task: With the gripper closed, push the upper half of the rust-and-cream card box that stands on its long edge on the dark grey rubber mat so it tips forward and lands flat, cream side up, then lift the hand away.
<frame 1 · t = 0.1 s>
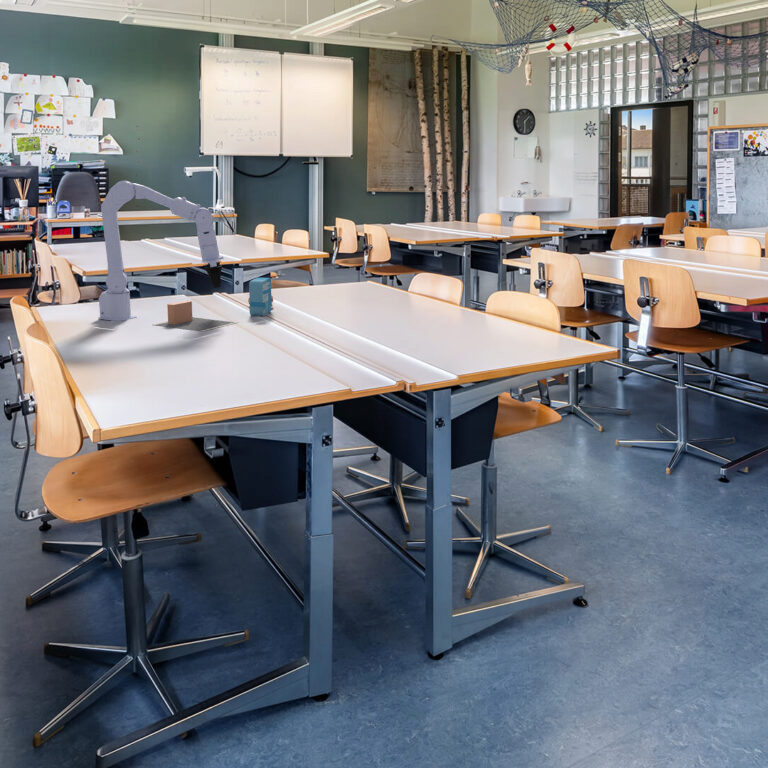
hand: (216, 286, 273), 11 cm above the table, tool pointing down, fingers open, 7 cm apart
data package: (260, 314, 284), on the table
mat: (195, 325, 261), on the table
card box: (180, 321, 263), resting on mat
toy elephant: (262, 307, 299), on the table
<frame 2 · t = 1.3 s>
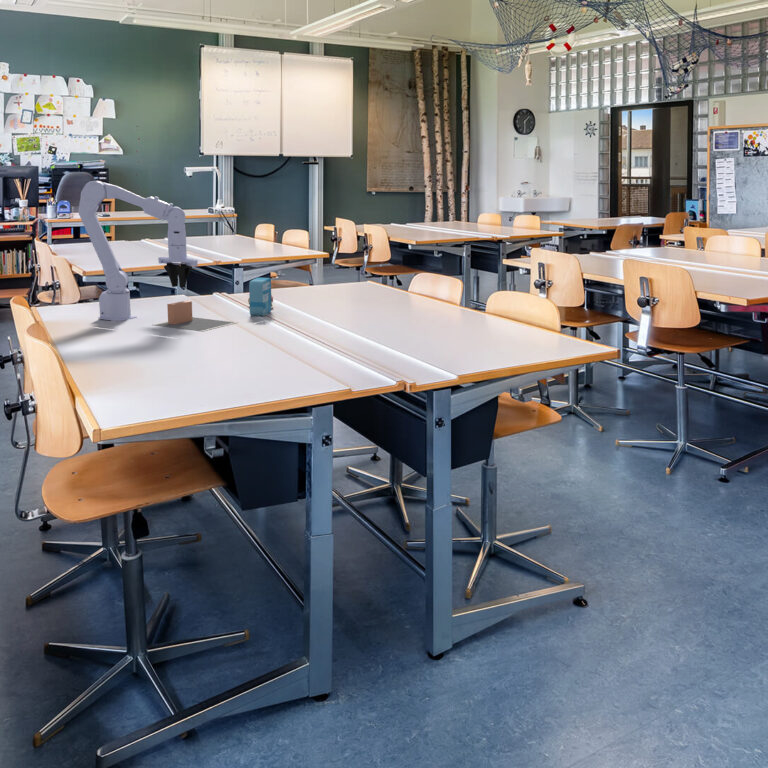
hand: (178, 286, 269), 10 cm above the table, tool pointing down, fingers open, 3 cm apart
nothing on the table moved.
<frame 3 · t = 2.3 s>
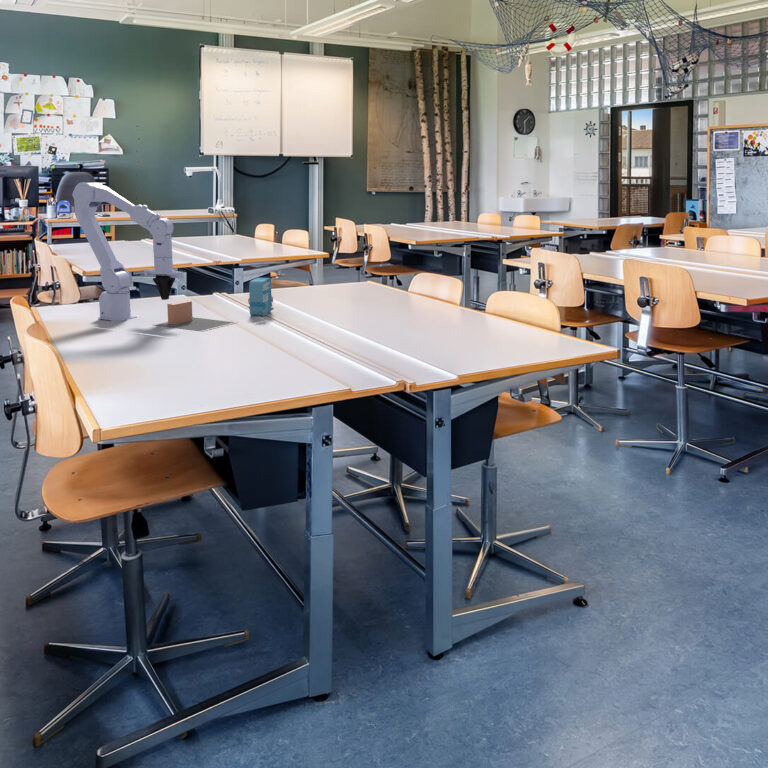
hand: (165, 299, 264), 7 cm above the table, tool pointing down, fingers closed
nothing on the table moved.
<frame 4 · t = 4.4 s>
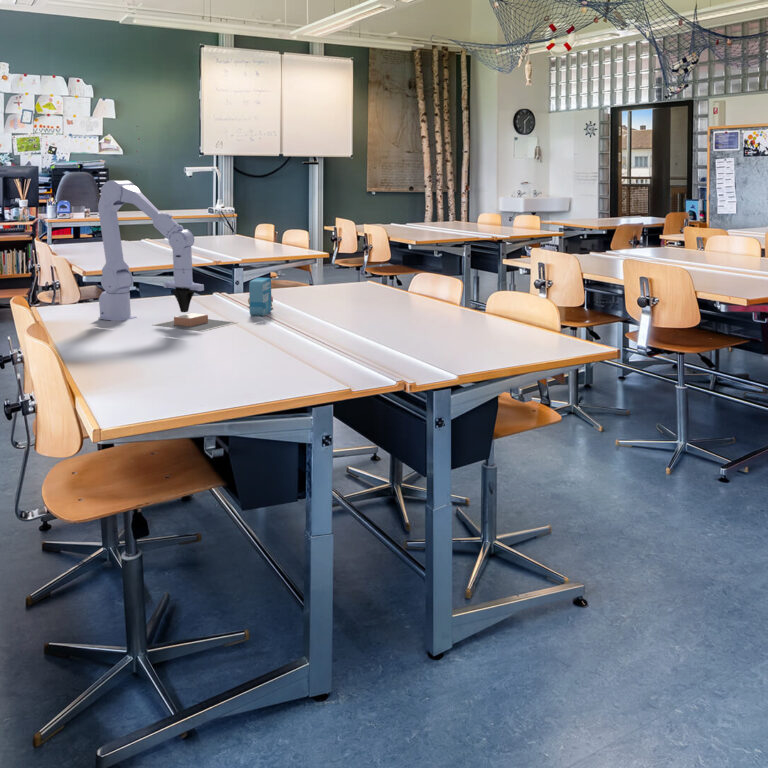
hand: (184, 311, 262), 4 cm above the table, tool pointing down, fingers closed
card box: (183, 318, 262), point 2 cm above the table, tilted 90°, touching mat
everything else where it was.
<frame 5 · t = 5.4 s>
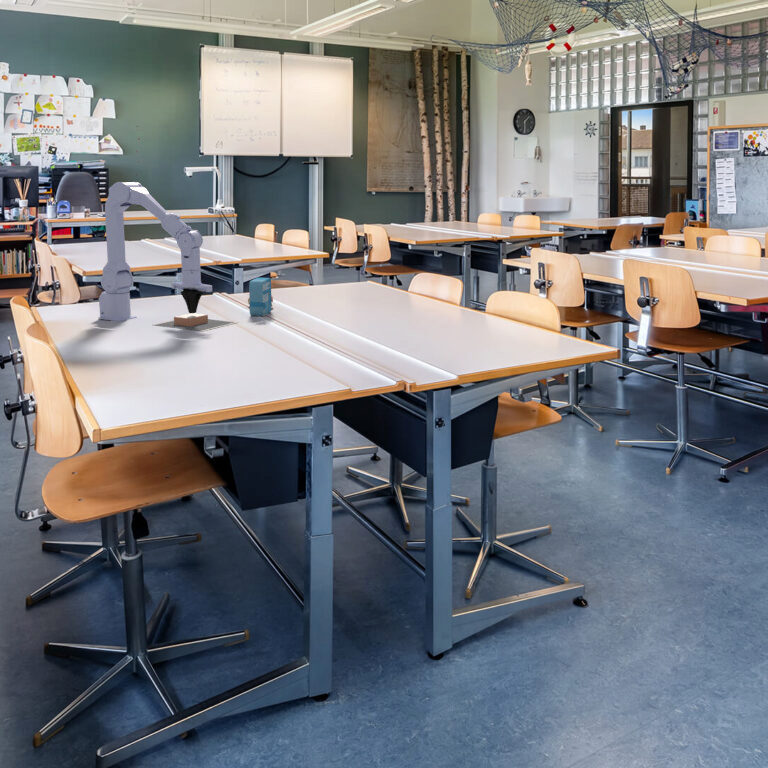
hand: (192, 312, 260), 4 cm above the table, tool pointing down, fingers closed
nothing on the table moved.
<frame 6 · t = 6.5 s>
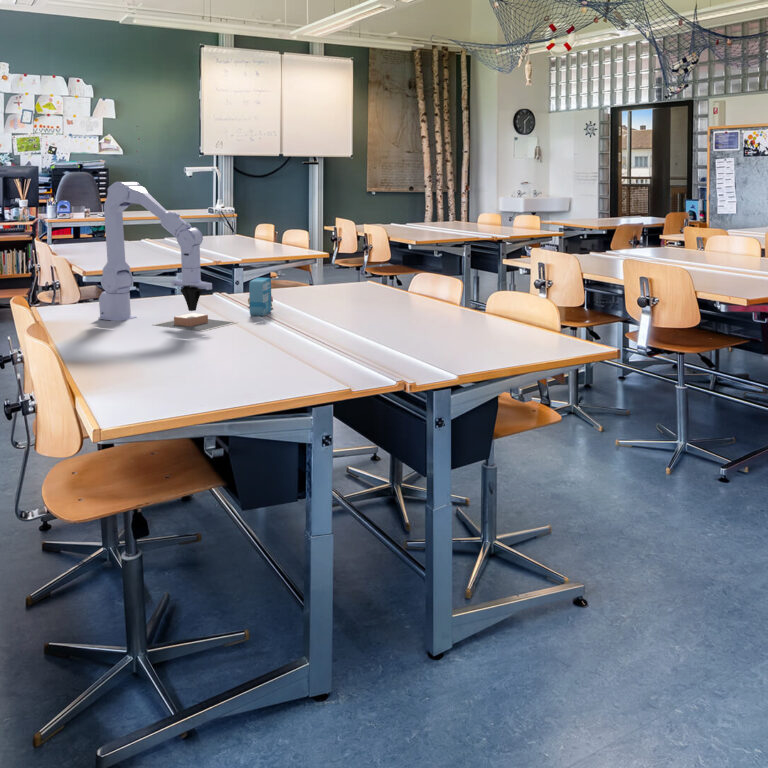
hand: (192, 310, 260), 5 cm above the table, tool pointing down, fingers closed
nothing on the table moved.
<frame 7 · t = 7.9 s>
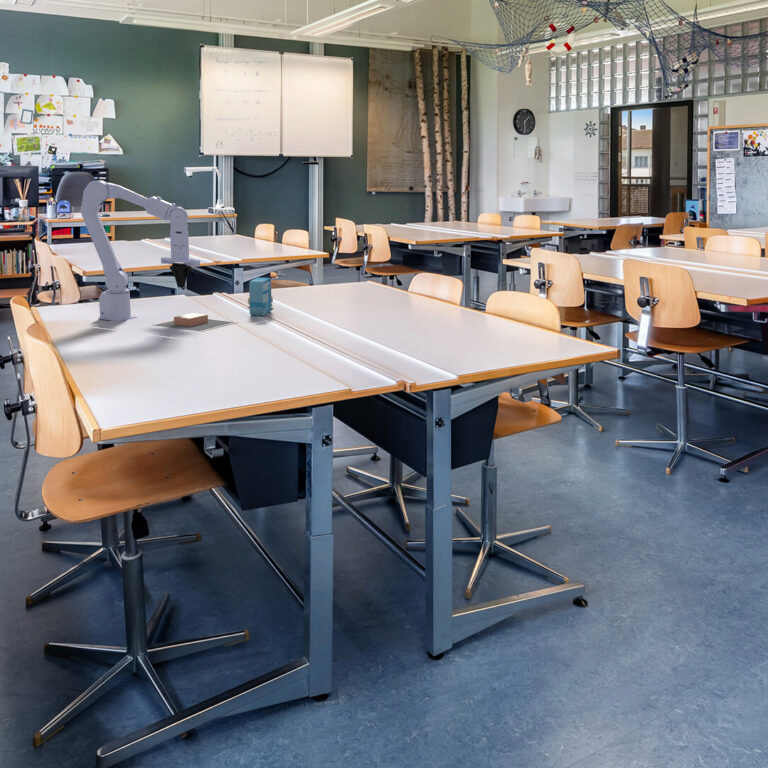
hand: (181, 287, 269), 10 cm above the table, tool pointing down, fingers closed
nothing on the table moved.
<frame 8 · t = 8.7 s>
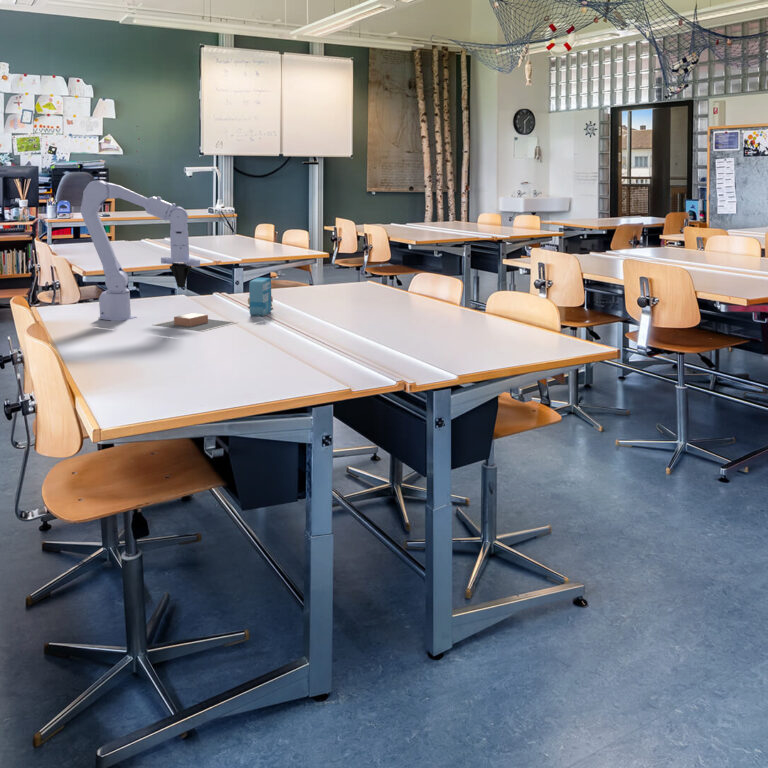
hand: (181, 287, 269), 10 cm above the table, tool pointing down, fingers closed
nothing on the table moved.
at the end: card box tilted 90°; card box inside the target area (4.6 cm from its centre), point 1.6 cm above the table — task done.
